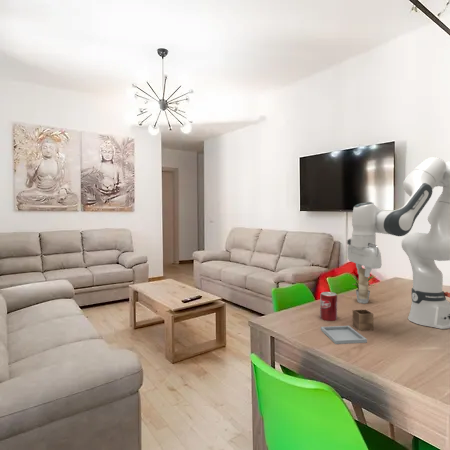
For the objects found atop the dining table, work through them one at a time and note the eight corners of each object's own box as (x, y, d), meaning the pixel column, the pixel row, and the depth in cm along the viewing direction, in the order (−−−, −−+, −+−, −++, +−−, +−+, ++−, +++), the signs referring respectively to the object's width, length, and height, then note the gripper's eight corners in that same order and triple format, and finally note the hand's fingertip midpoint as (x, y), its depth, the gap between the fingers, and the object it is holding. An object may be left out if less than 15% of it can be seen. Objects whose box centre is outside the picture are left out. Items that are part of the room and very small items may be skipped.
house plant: (384, 306, 163) (384, 275, 162) (356, 306, 163) (357, 275, 162) (372, 299, 177) (372, 269, 176) (346, 299, 178) (347, 269, 177)
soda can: (326, 323, 140) (326, 296, 140) (317, 318, 147) (317, 292, 146) (340, 321, 142) (340, 295, 141) (330, 316, 149) (331, 291, 148)
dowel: (365, 296, 134) (365, 268, 133) (369, 299, 130) (370, 269, 130) (357, 297, 133) (357, 268, 133) (361, 299, 130) (361, 270, 129)
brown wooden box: (365, 326, 136) (365, 309, 135) (373, 332, 130) (373, 313, 129) (352, 327, 135) (352, 310, 135) (359, 332, 129) (359, 314, 129)
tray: (348, 330, 132) (348, 325, 132) (366, 344, 118) (367, 339, 118) (320, 331, 131) (320, 326, 131) (335, 346, 117) (335, 340, 117)
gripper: (386, 244, 121) (385, 280, 121) (358, 239, 141) (358, 270, 142) (370, 245, 120) (370, 281, 121) (344, 240, 140) (344, 271, 141)
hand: (363, 275), depth 131 cm, fingers closed on dowel, 4 cm apart
